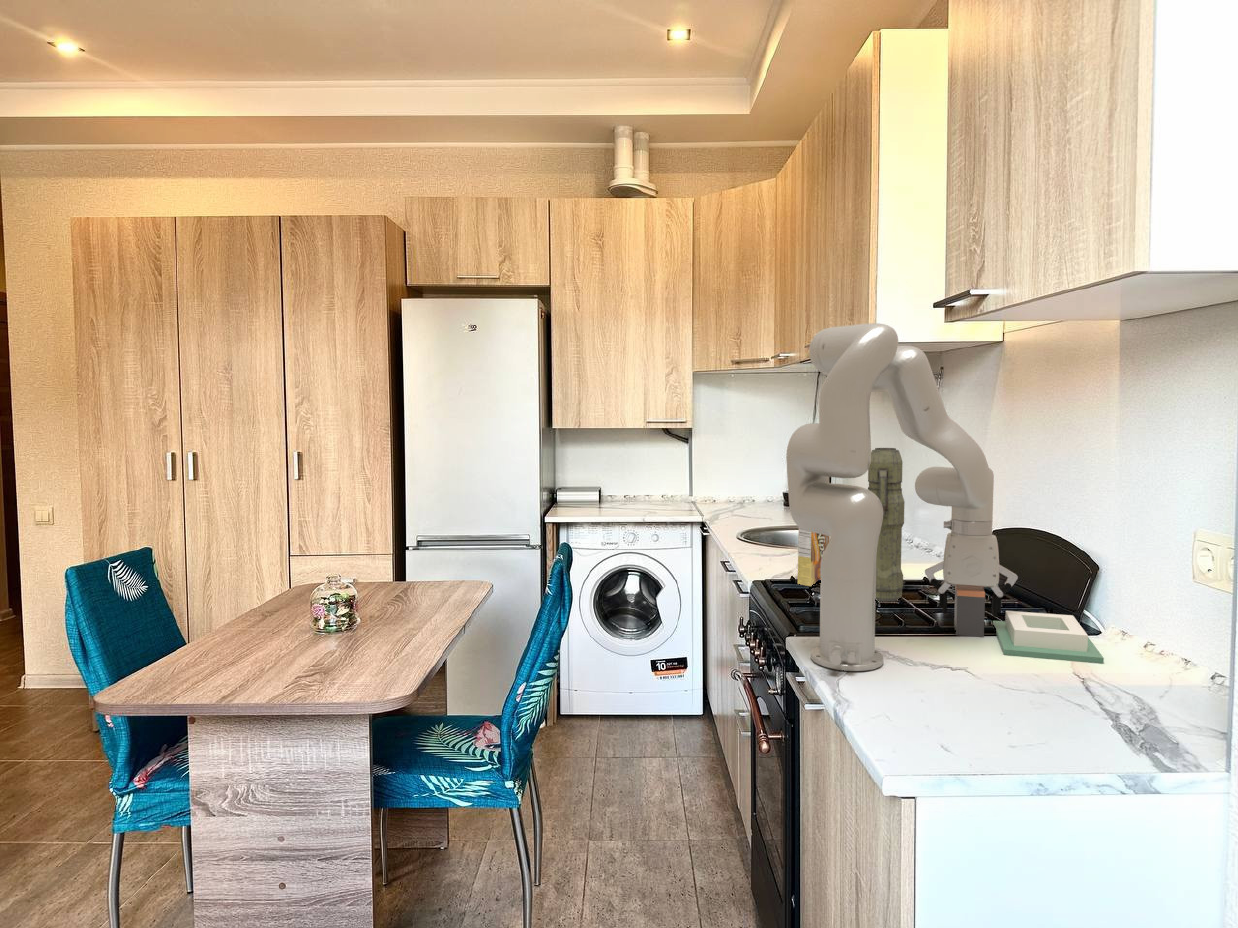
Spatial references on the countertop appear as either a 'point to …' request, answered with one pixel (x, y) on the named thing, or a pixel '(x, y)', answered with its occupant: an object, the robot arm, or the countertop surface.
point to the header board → (1043, 651)
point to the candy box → (810, 556)
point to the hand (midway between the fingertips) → (969, 613)
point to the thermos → (888, 521)
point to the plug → (969, 611)
